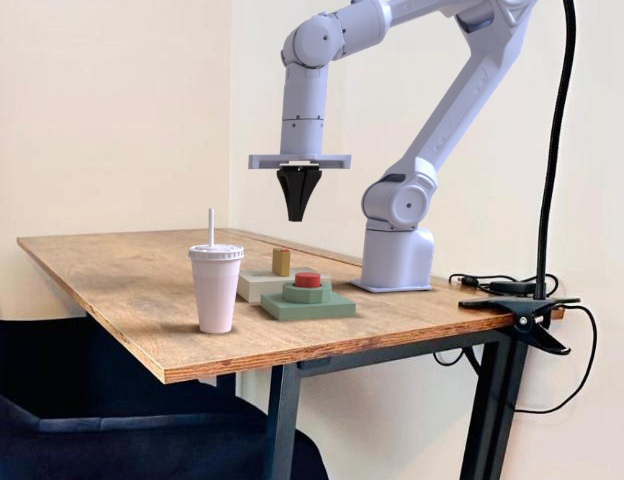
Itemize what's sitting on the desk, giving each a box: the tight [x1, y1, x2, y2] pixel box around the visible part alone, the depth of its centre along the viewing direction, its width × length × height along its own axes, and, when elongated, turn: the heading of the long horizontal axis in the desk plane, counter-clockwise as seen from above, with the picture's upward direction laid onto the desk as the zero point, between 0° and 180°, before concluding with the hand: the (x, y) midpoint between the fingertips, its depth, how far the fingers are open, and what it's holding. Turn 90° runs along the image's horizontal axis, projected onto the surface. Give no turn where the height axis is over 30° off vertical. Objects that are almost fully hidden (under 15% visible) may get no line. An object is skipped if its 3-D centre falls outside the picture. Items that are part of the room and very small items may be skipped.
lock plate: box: [236, 266, 332, 303], centre depth 82 cm, size 12×9×3 cm
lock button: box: [295, 272, 321, 288], centre depth 72 cm, size 3×3×2 cm
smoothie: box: [187, 208, 245, 334], centre depth 64 cm, size 6×6×14 cm
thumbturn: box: [271, 247, 291, 276], centre depth 81 cm, size 4×1×4 cm, turn 7°
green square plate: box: [259, 281, 357, 321], centre depth 72 cm, size 10×8×4 cm
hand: (295, 221), depth 81 cm, fingers closed
